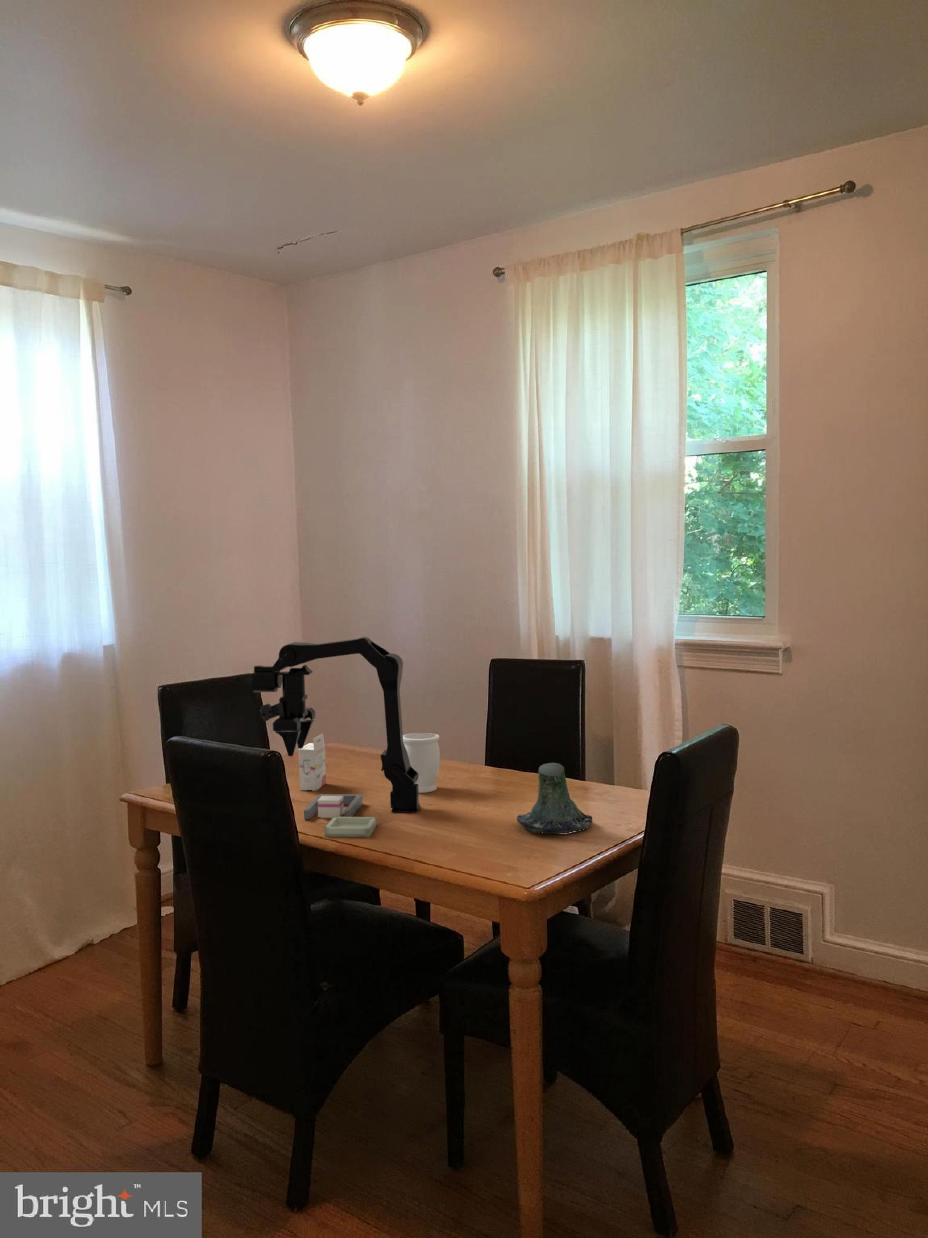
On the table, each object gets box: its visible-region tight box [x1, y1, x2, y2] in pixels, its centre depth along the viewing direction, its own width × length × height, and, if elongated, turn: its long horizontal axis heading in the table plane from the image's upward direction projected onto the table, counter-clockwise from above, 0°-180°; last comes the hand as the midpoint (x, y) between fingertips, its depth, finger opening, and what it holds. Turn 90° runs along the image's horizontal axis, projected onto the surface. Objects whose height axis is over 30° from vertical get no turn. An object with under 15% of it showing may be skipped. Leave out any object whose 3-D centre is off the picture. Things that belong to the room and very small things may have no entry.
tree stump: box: [516, 762, 593, 834], centre depth 230 cm, size 18×20×18 cm
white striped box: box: [317, 796, 345, 819], centre depth 244 cm, size 6×4×4 cm
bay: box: [303, 793, 363, 821], centre depth 247 cm, size 11×15×2 cm
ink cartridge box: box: [297, 733, 327, 792], centre depth 273 cm, size 9×5×15 cm, turn 168°
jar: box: [403, 732, 441, 794], centre depth 268 cm, size 11×10×15 cm
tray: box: [323, 816, 378, 838], centre depth 231 cm, size 10×10×2 cm
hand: (295, 752), depth 250 cm, fingers open, 9 cm apart
